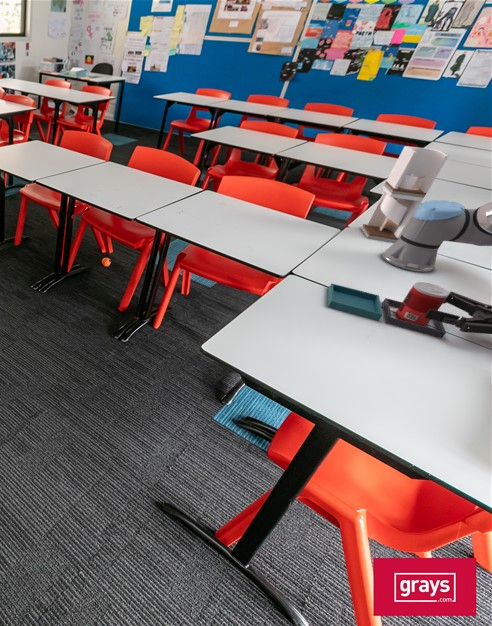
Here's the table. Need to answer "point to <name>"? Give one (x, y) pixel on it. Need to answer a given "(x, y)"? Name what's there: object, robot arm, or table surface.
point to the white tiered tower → (404, 192)
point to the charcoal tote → (408, 325)
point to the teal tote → (354, 302)
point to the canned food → (421, 302)
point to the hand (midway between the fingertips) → (423, 302)
